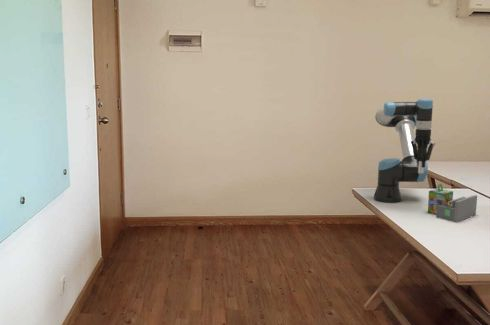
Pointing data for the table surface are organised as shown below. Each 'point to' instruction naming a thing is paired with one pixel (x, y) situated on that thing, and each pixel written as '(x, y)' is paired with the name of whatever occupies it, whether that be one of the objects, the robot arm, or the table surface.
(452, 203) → the paddle
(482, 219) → the table surface
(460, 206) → the stand
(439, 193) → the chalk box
